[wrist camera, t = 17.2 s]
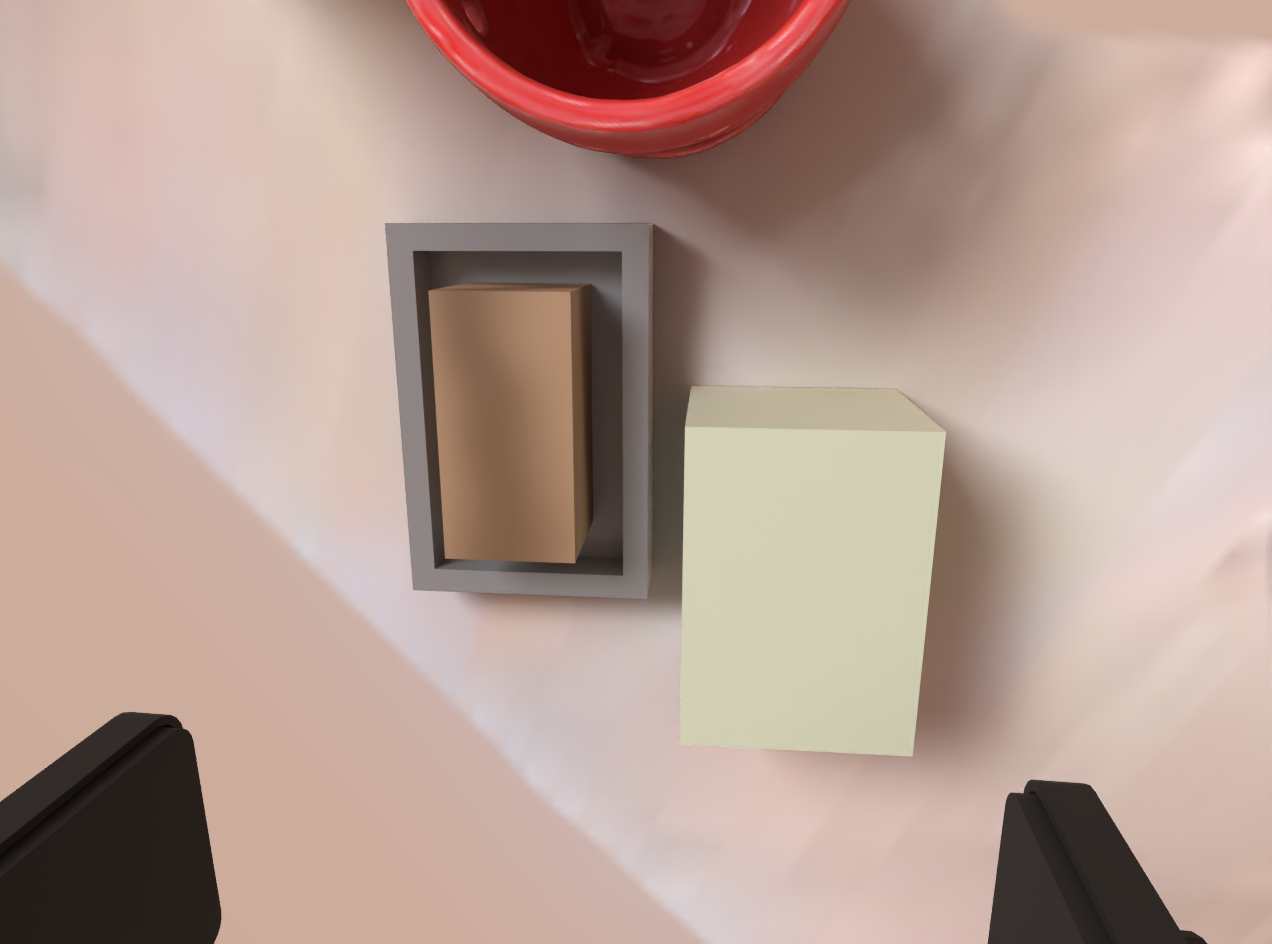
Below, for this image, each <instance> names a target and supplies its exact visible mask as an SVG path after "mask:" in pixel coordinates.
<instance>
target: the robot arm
mask: <svg viewBox="0 0 1272 944" xmlns="http://www.w3.org/2000/svg"><path fill="white" fill-rule="evenodd" d="M220 924H221V907H220V901H219V895H218V889H217V883H216V877H215V871H214V864H213V858H212V853H211V846H210V841H209V834H208V828H207V822H206V816H205V809H204V804H203V798H202V792H201V785H200V779H199V773H198V767H197V762H196V755H195V748H194V743H193V739H192V736H191V734H190V733H189V731H188V730H185V729H183V727H182V724H181V722H179V720H178V719H177V718H176V717H174V716H172V715H163V714H149V713H136V712H126V713H121V714H119V715H118V716H116V717H114V718H113V719H111V720H110V721H109V722H107V723H106V724H105V725H103V726H102V727H101V728H99V729H98V730H97V731H95V732H94V733H92V734H91V735H90V736H88V737H87V738H86V739H84V740H83V741H82V742H80V743H79V744H78V745H76V746H75V747H74V748H72V749H71V750H70V751H68V752H67V753H65V754H64V755H63V756H62V757H60V758H59V759H57V760H56V761H55V762H53V763H52V764H51V765H49V766H48V767H47V768H45V769H44V770H43V771H41V772H40V773H38V774H37V775H36V776H35V777H33V778H32V779H30V780H29V781H28V782H26V783H25V784H24V785H22V786H21V787H20V788H18V789H17V790H16V791H14V792H13V793H12V794H10V795H9V796H7V797H6V798H5V799H3V800H2V801H1V802H0V944H214V942H215V939H216V937H217V935H218V932H219V929H220ZM988 944H1207V943H1206V942H1205V940H1204V939H1203V938H1202V937H1200V936H1198V935H1197V934H1195V933H1194V932H1192V931H1183V930H1180V929H1179V928H1178V926H1177V925H1176V923H1175V921H1174V920H1173V918H1172V916H1171V915H1170V913H1169V911H1168V910H1167V908H1166V907H1165V905H1164V903H1163V902H1162V900H1161V898H1160V897H1159V895H1158V894H1157V892H1156V890H1155V889H1154V887H1153V885H1152V884H1151V882H1150V880H1149V879H1148V877H1147V876H1146V874H1145V872H1144V871H1143V869H1142V867H1141V866H1140V864H1139V862H1138V861H1137V859H1136V858H1135V856H1134V854H1133V853H1132V851H1131V849H1130V848H1129V846H1128V844H1127V843H1126V841H1125V840H1124V838H1123V836H1122V835H1121V833H1120V831H1119V830H1118V828H1117V827H1116V825H1115V823H1114V822H1113V820H1112V818H1111V817H1110V815H1109V813H1108V812H1107V810H1106V809H1105V807H1104V805H1103V804H1102V802H1101V800H1100V799H1099V797H1098V795H1097V794H1096V792H1095V791H1094V790H1093V789H1092V787H1091V786H1090V785H1087V784H1083V783H1070V782H1056V781H1043V780H1030V781H1028V782H1027V784H1026V786H1025V789H1024V793H1010V794H1009V795H1008V797H1007V799H1006V804H1005V812H1004V819H1003V827H1002V835H1001V843H1000V851H999V859H998V867H997V875H996V883H995V891H994V898H993V906H992V914H991V922H990V930H989V938H988Z"/></svg>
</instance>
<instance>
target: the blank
mask: <svg viewBox="0 0 1272 944" xmlns="http://www.w3.org/2000/svg"><path fill="white" fill-rule="evenodd" d="M429 307H430V323H431V340H432V356H433V372H434V388H435V404H436V420H437V436H438V452H439V468H440V484H441V500H442V516H443V532H444V548H445V559H471V560H498V561H525V562H552V563H575V562H576V560H577V558H578V555H579V553H580V550H581V548H582V546H583V543H584V541H585V539H586V536H587V534H588V532H589V529H590V527H591V524H592V522H593V440H592V347H591V284H586V283H474V282H468V283H463V284H458V285H454V286H449V287H444V288H439V289H434V290H429Z"/></svg>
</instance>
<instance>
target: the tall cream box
mask: <svg viewBox="0 0 1272 944" xmlns="http://www.w3.org/2000/svg"><path fill="white" fill-rule="evenodd" d="M945 439H946V431H944V430H943V429H942V428H941V427H940V426H939V425H937V424H936V423H935V422H934V421H933V420H932V419H930V418H929V417H928V416H927V415H926V414H925V413H924V412H922V411H921V410H920V409H919V408H918V407H917V406H915V405H914V404H913V403H912V402H911V401H910V400H908V399H907V398H906V397H905V396H904V395H903V394H902V393H900V392H899V391H898V390H897V389H862V388H801V387H739V386H691V391H690V397H689V404H688V410H687V417H686V423H685V455H684V515H683V574H682V633H681V693H680V744H683V745H702V746H721V747H740V748H759V749H778V750H797V751H816V752H835V753H854V754H873V755H892V756H911V757H913V749H914V739H915V729H916V720H917V710H918V700H919V691H920V681H921V671H922V662H923V652H924V642H925V633H926V623H927V613H928V604H929V594H930V584H931V575H932V565H933V555H934V546H935V536H936V526H937V517H938V507H939V497H940V488H941V478H942V468H943V459H944V449H945Z"/></svg>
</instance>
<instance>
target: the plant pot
mask: <svg viewBox="0 0 1272 944" xmlns="http://www.w3.org/2000/svg"><path fill="white" fill-rule="evenodd" d="M405 1H406V3H407V4H408V6H409V8H410V10H411V12H412V14H413V15H414V17H415V18H416V20H417V21H418V23H419V24H420V26H421V27H422V29H423V30H424V32H425V33H426V34H427V36H428V37H429V38H430V39H431V41H432V42H433V43H434V45H435V46H436V47H437V48H438V49H439V51H440V52H441V53H442V54H443V55H444V56H445V57H446V59H447V60H448V61H449V62H450V63H451V64H452V65H453V66H454V67H455V68H456V69H457V70H458V71H459V72H460V73H461V74H462V75H463V76H464V77H465V78H467V79H468V80H469V81H470V82H471V83H472V84H473V85H474V86H475V87H476V88H478V89H479V90H480V91H481V92H482V93H483V94H485V95H486V96H487V97H488V98H489V99H491V100H492V101H493V102H494V103H496V104H497V105H498V106H499V107H501V108H502V109H504V110H505V111H507V112H508V113H510V114H511V115H513V116H514V117H516V118H517V119H519V120H521V121H522V122H524V123H526V124H527V125H529V126H531V127H533V128H535V129H537V130H539V131H540V132H543V133H545V134H547V135H549V136H551V137H554V138H556V139H559V140H561V141H564V142H566V143H569V144H572V145H575V146H578V147H581V148H585V149H589V150H594V151H600V152H607V153H616V154H623V155H627V156H632V157H639V158H652V159H665V158H677V157H684V156H688V155H692V154H696V153H699V152H702V151H705V150H708V149H710V148H713V147H715V146H717V145H720V144H722V143H724V142H725V141H727V140H729V139H731V138H733V137H734V136H736V135H738V134H739V133H741V132H742V131H744V130H745V129H747V128H748V127H749V126H751V125H752V124H753V123H754V122H756V121H757V120H758V119H759V118H760V117H761V116H762V115H764V114H765V113H766V112H767V111H768V110H769V109H770V108H771V107H772V106H773V104H774V103H775V102H776V101H777V100H778V99H779V98H780V96H781V95H782V94H783V93H784V92H785V90H786V89H787V88H788V87H789V86H790V85H791V84H792V83H793V82H794V81H795V80H796V79H797V78H798V77H799V76H800V75H801V74H802V72H803V71H804V70H805V69H806V68H807V66H808V65H809V64H810V62H811V61H812V60H813V58H814V57H815V55H816V54H817V53H818V51H819V50H820V48H821V47H822V46H823V44H824V43H825V41H826V40H827V39H828V37H829V36H830V34H831V33H832V31H833V30H834V28H835V27H836V25H837V23H838V22H839V20H840V19H841V17H842V15H843V13H844V12H845V10H846V8H847V6H848V4H849V3H850V1H851V0H405Z"/></svg>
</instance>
